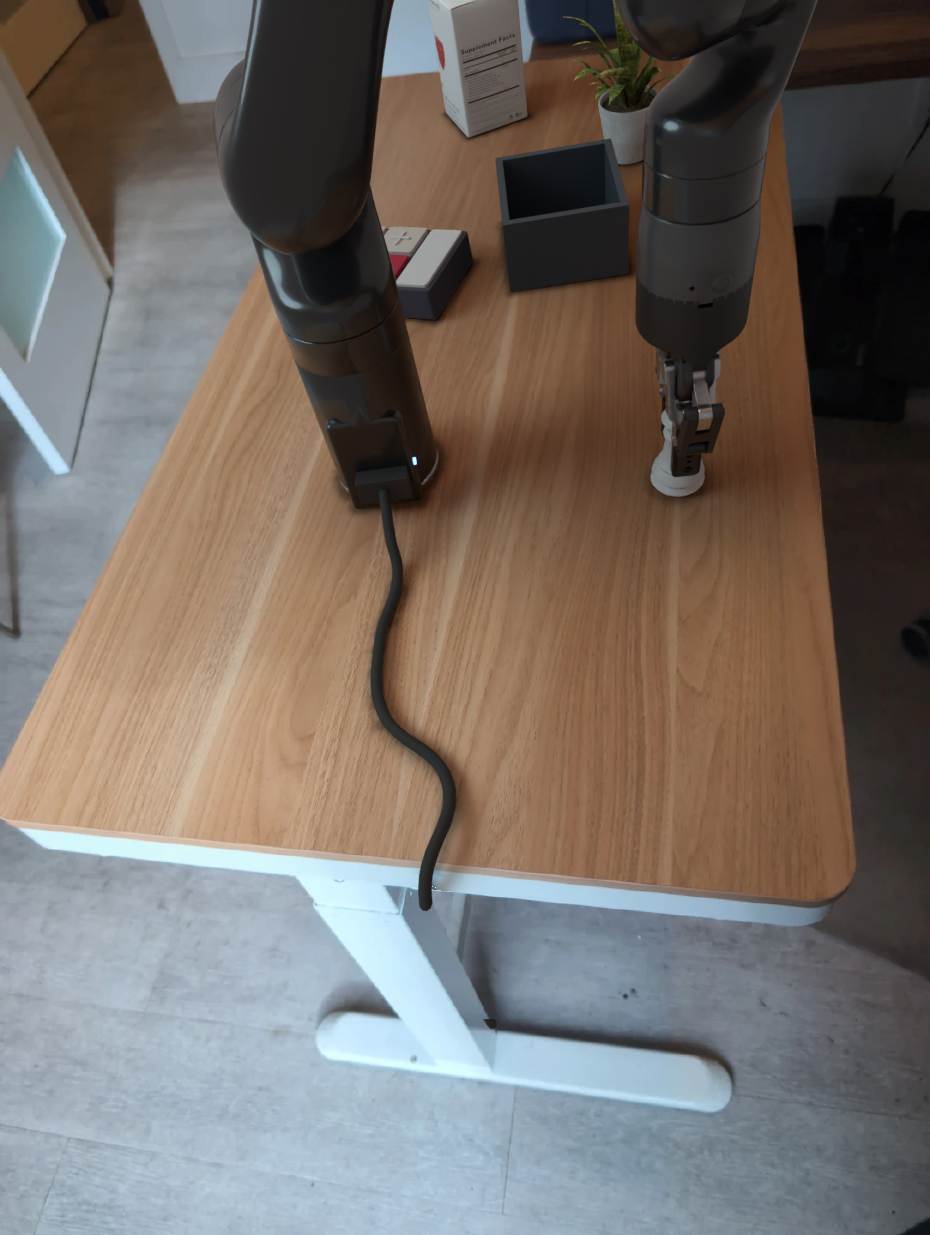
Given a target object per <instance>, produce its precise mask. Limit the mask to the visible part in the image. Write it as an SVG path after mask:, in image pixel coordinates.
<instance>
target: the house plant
mask: <svg viewBox="0 0 930 1235" xmlns="http://www.w3.org/2000/svg"><path fill="white" fill-rule="evenodd" d="M612 5H613V12H614V13H613V15H614V27H615V31H616V42H617V47H616V48H612V49H608V48H609V47H608V46H607V45H606V44H605V41H603V39H602V37H601V36H600V34H599V33H598V32H597V30H595V28H594V27H593V26H592V25H591V24H590V23H588V21H586V20H584V19H582V18H579V17H574V16H564V18H565V19H572V20H575V21H576V20H577V21H580V22H581V23H580V26H581V25H582V26H585V27H588V28H589V29H590V30H591V31H592V32H593V33H594V35H595V37H597V39H598V40H599V42H600V43H601V44H599V43H596V42H592V41H591V40H590V41H589V40H584V41H579V42H576V43H573V45H571V46H576V45H582V44H594V45H595V46H597V47H598V48H597V47H593V46H588V47H583V48H582V49H580V51H582V50H586V49H592V50H594V51H595V52H596V53H597V54H598V55H599V57H600V58H601V59H602V60H603V62H604V63H605V65H606V66H607V68H608V69H606V70H601V69H598V68H592V67H591V66H590V65H589V64H588V63H587V62H585V61H583V60H581V59H575V58H573V59H572V58H571V59H568V60H569V61H574V62H577V63H580V64H581V65H583V66H584V67H585V68H584V69H582V70H580V71H579V72H578V73H577V75H576V76H575V77H574V79H573V82H572V83H574V82H575V81H576V80H578V79H581V78H582V77H586V76H588V75H592V76H593V78H592V79H596V80H598V81H600V82H598V81H595V82H591V83H589V86H591V85H594V84H599V83H600V84H601V85H599V86H597V87H596V90H595V96H594V101H593V102H595V101H596V100H597V98H599V99H598V101H597V106H598V111H599V117H600V123H601V129H602V135H603V140H604V139H610V138H611V141H612V144H613V148H614V151H615V155H616V158H617V162H618V165H632V164H637V163H639V162H643V138H644V125H645V118H646V113H647V110H648V108H649V105H650V104H651V102H652V100H653V99H654V97H655V96H656V95H657V94H658V92H659V90H658V89H656V88H655V86H656V85H658V84H659V83H660V82H662V81H664V80H667V79H670V80H672V79H674V78H675V77H676V76H675V75H673V74H671V75H670V74H669V75H667V76H665V77H663V78H661V79H659V80H657V81H656V82H653V84H651V85H649V84H650V82H651V81H652V80H653V79H654V78H655V76H656V75H657V74H658V73H663V70H662V68H661V67H658V66H652V65H653V64H654V62H655V60H656V59H655V58H653V57H651V56H650V55H648V54H647V55H648V56H647V58H646V60H645V62H644V64H643V66H642V68H641V71H640V73H639V69H640V66H641V61H642V57H643V50H642V49H641V48H640V47H639V46H638V45H637V44H636V43H635V42H634V40H633V39H632V38H631V36H630V35H629V33H628V31H627V30H626V28H625V26H624V24H623V22H622V20H621V17H620V15H619V13H618V10H617V7H616V4H615V0H612ZM601 50H602V51H601ZM604 53H605V54H604ZM607 57H608V58H609V59H608V58H607ZM609 60H610V61H611V63H610V61H609ZM611 64H612V65H611ZM638 73H639V74H638ZM611 77H612V78H613V79H614V81H615V82H614V81H613V79H612V78H611ZM603 78H607V79H608V80H609V81H610V82H611V84H612V85H609V83H607V81H605V80H604V79H603Z"/></svg>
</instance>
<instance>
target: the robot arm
mask: <svg viewBox="0 0 930 1235" xmlns="http://www.w3.org/2000/svg"><path fill="white" fill-rule="evenodd" d="M394 3H395V0H252V6H251V15H250V21H249V27H248V34H247V40H246V47H245V53H244V54H245V55H244V58H243V59H242V60H240V61H238V63H237V64H235V65H234V66H233V68H231V69H230V70H229V72H228V73H227V75H226V76H225V78H224V80H223V81H222V82H221V85H220V86H219V89H218V92H217V95H216V97H215V102H214V106H213V107H214V108H213V109H214V110H213V118H212V128H213V137H214V143H215V150H216V158H217V164H218V170H219V175H220V180H221V184H222V185H221V186H222V188H223V190H224V193H225V195H226V197H227V200H228V202H229V204H230V206H231V208H232V210H233V212H234V213H235V215H236V216H237V218H238V219H239V221H240V222H241V224H242V225H243V226H244V227H245V229H246V230H247V231H248V232H249V235H250V238H251V241H252V243H253V247H254V250H255V251H256V256H257V259H258V262H259V266H260V268H261V271H262V272H261V273H262V275H263V278H264V282H265V285H266V289H267V292H268V295H269V300H270V301H271V303H272V307H273V309H274V312H275V314H276V317H277V319H278V322H279V325H280V327H281V329H282V331H283V334H284V336H285V339H286V342H287V344H288V347H289V350H290V352H291V355H292V358H293V360H294V363H295V366H296V369H297V371H298V373H299V376H300V379H301V382H302V384H303V387H304V389H305V392H306V394H307V398H308V399H309V402H310V406H311V407H312V411H313V413H314V415H315V418H316V421H317V423H318V426H319V428H320V431H321V434H322V436H323V439H324V441H325V444H326V447H327V449H328V452H329V455H330V457H331V459H332V462H333V465H334V467H335V469H336V475H337V478H338V481H339V483H340V485H341V488H342V489H343V491H344V492H345V494H347V495H348V497H350V500H351V501H352V504H353V507H354V508H355V509H361V508H362V509H363V508H368V507H370V508H371V507H377V506H380V512H381V513H380V514H381V522H382V529H383V535H384V541H385V545H386V549H387V553H388V556H389V559H390V564H391V584H390V589H389V591H388V592H389V593H388V596H387V599H386V602H385V604H384V607H383V609H382V612H381V613H380V616H379V618H378V622H377V625H376V629H375V632H374V633H375V634H374V639H373V647H372V648H373V649H372V655H371V664H370V677H369V678H370V679H369V681H370V682H369V683H370V693H371V694H370V695H371V699H372V703H373V706H374V710H375V713H376V716H377V717H378V718H379V721H380V723H381V724H382V726H383V728H385V730H386V731H387V732H388V733H389V734H390V735H391V736H392V737H393V738H394V739H396V740H397V741H398V742H399V743H400V744H402V745H403V746H405V747H406V748H408V749H409V750H410V751H412V752H414V753H415V754H417V755H418V756H419V757H421V758H422V759H423V760H425V761H426V762H427V764H429V765H430V766H431V767H432V769H433V770H434V771H435V773H436V774H437V776H438V779H439V781H440V785H441V790H442V805H441V810H440V814H439V817H438V820H437V822H436V825H435V827H434V829H433V832H432V834H431V836H430V839H429V840H428V844H427V846H426V849H425V851H424V854H423V857H422V859H421V864H420V866H419V873H418V881H417V882H418V883H417V894H418V896H417V897H418V906H419V908H420V910H421V911H422V912H428V911H429V910H431V908H432V906H433V878H434V872H435V868H436V864H437V860H438V858H439V855H440V852H441V850H442V847H443V845H444V843H445V840H446V838H447V835H448V834H449V831H450V829H451V825H452V823H453V820H454V817H455V812H456V809H457V808H456V807H457V788H456V783H455V779H454V777H453V774H452V771H451V770H450V768H449V766H448V765H447V763H446V762H445V760H444V759H443V758H442V757H441V755H440V754H438V753H437V751H435V750H434V749H433V748H431V746H429V745H427V744H426V743H424V742H423V741H421V740H420V739H418V738H417V737H416V736H414V735H412V734H411V733H410V732H408V731H407V730H405V729H404V728H403V727H402V726H401V725H400V724H398V722H397V721H396V720H395V718H394V717H393V715H392V714H391V712H390V710H389V708H388V707H389V706H388V705H387V704H388V703H387V701H386V697H385V693H384V685H383V683H384V682H383V674H384V673H383V672H384V661H385V653H386V651H385V650H386V644H387V637H388V631H389V627H390V624H391V621H392V618H393V615H394V612H395V611H396V608H397V605H398V603H399V599H400V597H401V593H402V590H403V589H402V588H403V581H404V565H403V559H402V555H401V552H400V548H399V545H398V541H397V536H396V529H395V523H394V516H393V509H392V508H393V507H392V505H393V504H401V503H407V502H415V501H421V500H422V499H423V497H424V496H423V495H424V494H423V493H424V490H425V489H426V488H427V487H428V486H430V484H431V483H432V482H433V481H434V479H435V477H436V475H437V473H438V471H439V468H440V463H441V462H440V461H441V460H440V454H439V449H438V446H437V443H436V441H435V437H434V434H433V433H434V432H433V429H432V425H431V421H430V417H429V412H428V409H427V405H426V401H425V396H424V392H423V389H422V384H421V380H420V376H419V372H418V368H417V364H416V360H415V356H414V351H413V347H412V343H411V339H410V334H409V331H408V330H409V329H408V326H407V321H406V317H404V313H403V309H402V305H401V301H400V296H399V292H398V288H397V284H396V280H395V275H394V271H393V266H392V262H391V259H390V255H389V252H388V248H387V245H386V242H385V238H384V234H383V231H382V227H381V226H382V225H381V221H380V218H379V214H378V211H377V207H376V203H375V199H374V195H373V191H372V187H371V181H372V180H371V179H372V174H373V163H374V152H375V142H376V134H377V132H376V131H377V122H378V113H379V106H380V105H379V103H380V95H381V88H382V87H381V86H382V78H383V71H384V70H383V69H384V62H385V54H386V47H387V41H388V33H389V29H390V22H391V18H392V12H393V8H394ZM817 3H818V0H615V4H616V7H617V10H618V13H619V15H620V17H621V20H622V22H623V24H624V26H625V28H626V30H627V31H628V34H629V35H630V36H631V38H632V39H633V40H634V42H635V43H636V44H637V45H638V46H639V47H640V48H641V49H642V52H644V53H645V54H646V55H650V56H651V57H653V58H655V60H656V61H661V62H669V63H672V62H678V61H683V60H686V59H689V58H690V60H689V61H688V63H687V64H686V65H685V66H684V67H683V69H682V70H681V71H680V72H679V73H678V74H677V75H676V76H674V77H675V78H674V79H670V81H669V82H668V83H667V84H665V85H664V86H663V87H662V88H661V89H660V90H658V94H657V95H656V96H655V97H654V99H653V100H652V102H651V104H650V105H649V108H648V110H647V113H646V118H645V125H644V138H643V160H642V168H641V169H642V170H641V173H642V174H641V203H640V204H641V205H640V210H639V215H638V216H639V217H638V223H637V231H636V261H635V262H636V263H635V264H636V266H635V268H636V269H635V307H634V308H635V309H634V310H635V312H634V314H635V316H634V322H635V327H636V330H637V331H638V334H639V335H640V336H641V337H642V339H643V340H644V341H645V342H646V343H647V344H649V345H651V346H652V347H654V348H655V366H654V367H655V368H654V371H655V374H656V378H657V383H658V384H659V387H658V394H659V395H660V398H661V412H660V414H661V415H662V412H663V411H664V410H666V413H667V415H668V418H669V420H670V421H672V436H671V442H672V450H671V464H670V469H671V473H672V476H673V477H684V476H692V475H696V474H698V473H699V471H700V464H701V459H702V456H703V455H704V454H705V455H708V454H713V453H714V452H713V451H714V449H715V446H716V443H717V440H718V437H719V434H720V432H721V428H722V425H723V422H724V419H725V415H726V409H725V407H724V405H723V402H717V383H718V382H717V381H718V380H719V379H720V377H721V371H722V370H721V369H722V357H721V352H720V351H721V350H722V349H724V348H725V347H726V346H728V345H729V344H731V343H732V342H734V341H735V340H736V339H737V338H738V337H739V336H740V335H741V334H742V332H743V330H744V329H745V327H746V325H747V322H748V317H749V310H750V304H751V303H750V302H751V297H752V289H753V283H754V277H755V270H756V263H757V256H758V250H759V249H758V248H759V243H760V236H761V224H762V223H761V219H762V217H761V216H762V215H761V214H762V210H761V203H762V202H761V201H762V191H763V184H764V177H765V169H766V163H767V155H768V148H769V140H770V133H771V132H770V131H771V124H772V120H773V117H774V115H775V113H776V110H777V107H778V105H779V103H780V101H781V98H782V96H783V94H784V91H785V89H786V87H787V84H788V82H789V79H790V77H791V74H792V72H793V69H794V65H795V63H796V61H797V57H798V56H799V52H800V49H801V47H802V44H803V41H804V39H805V36H806V33H807V31H808V28H809V25H810V23H811V20H812V17H813V15H814V12H815V9H816V6H817ZM675 400H679V401H678V402H685V401H690V402H687V403H680V404H676V403H675ZM661 415H660V416H661ZM664 427H665V426H664V424H663V423H662V420H661V419H660V432H661V436H662V437H663V438H665V437H664V434H663V430H664ZM482 1020H483V1022H484V1023H485V1025H486V1027H488V1029H490V1030H494V1029H496V1028H497V1025H498V1022H497V1020H496V1018H494V1017H493V1018H484V1019H482Z"/></svg>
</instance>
